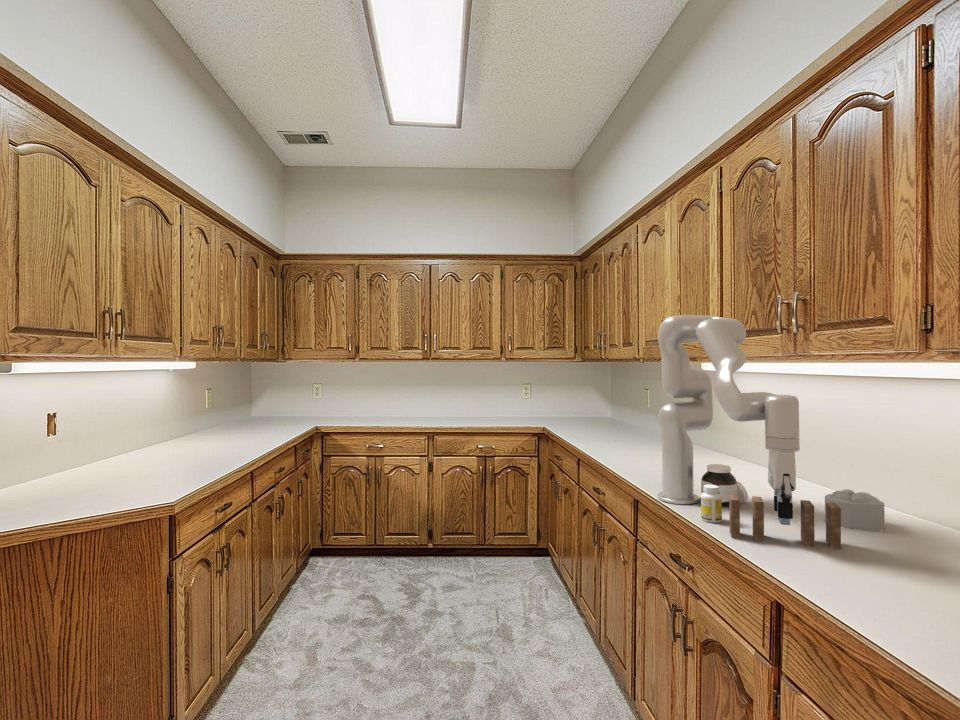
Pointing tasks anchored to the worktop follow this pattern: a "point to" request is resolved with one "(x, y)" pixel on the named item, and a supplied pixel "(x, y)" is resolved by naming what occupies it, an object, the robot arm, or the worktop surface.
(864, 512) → the lumpy-topped squat cylinder
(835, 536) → the domino
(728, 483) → the spread jar
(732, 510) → the domino
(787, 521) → the blue domino
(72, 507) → the worktop surface
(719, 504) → the supplement bottle
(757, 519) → the domino
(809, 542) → the domino
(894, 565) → the worktop surface
